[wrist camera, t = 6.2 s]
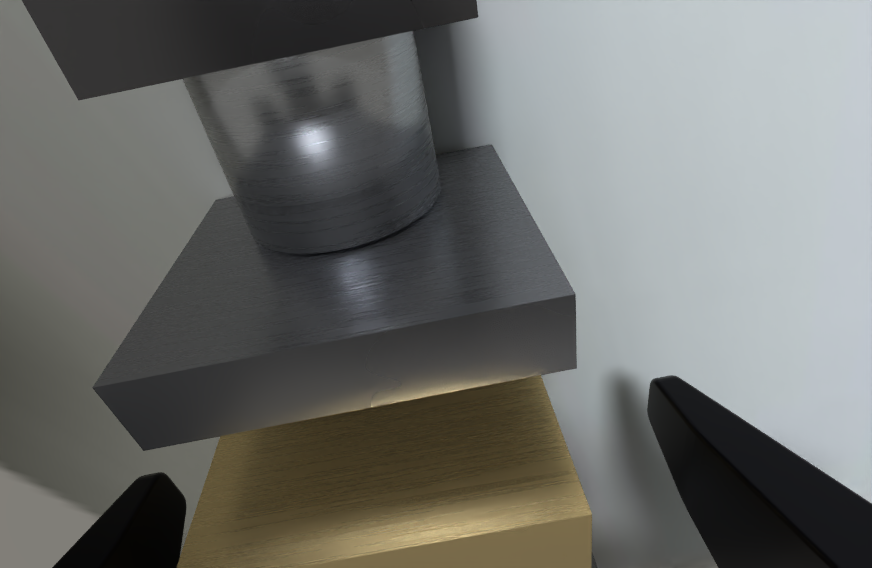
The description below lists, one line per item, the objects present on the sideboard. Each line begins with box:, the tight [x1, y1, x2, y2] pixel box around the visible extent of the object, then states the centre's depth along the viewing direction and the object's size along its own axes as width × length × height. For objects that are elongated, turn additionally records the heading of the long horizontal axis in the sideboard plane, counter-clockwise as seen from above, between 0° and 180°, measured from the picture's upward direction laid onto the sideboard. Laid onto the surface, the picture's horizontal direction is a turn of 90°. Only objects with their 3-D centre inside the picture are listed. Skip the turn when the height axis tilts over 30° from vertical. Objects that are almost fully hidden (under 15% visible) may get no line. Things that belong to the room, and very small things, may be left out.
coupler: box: [177, 375, 592, 568], centre depth 9 cm, size 4×4×6 cm
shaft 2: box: [22, 0, 577, 451], centre depth 6 cm, size 5×5×4 cm
